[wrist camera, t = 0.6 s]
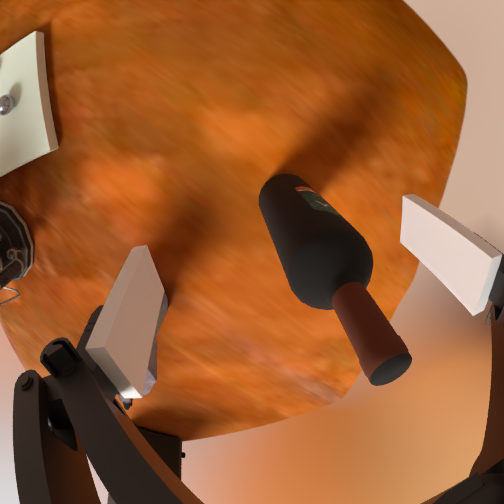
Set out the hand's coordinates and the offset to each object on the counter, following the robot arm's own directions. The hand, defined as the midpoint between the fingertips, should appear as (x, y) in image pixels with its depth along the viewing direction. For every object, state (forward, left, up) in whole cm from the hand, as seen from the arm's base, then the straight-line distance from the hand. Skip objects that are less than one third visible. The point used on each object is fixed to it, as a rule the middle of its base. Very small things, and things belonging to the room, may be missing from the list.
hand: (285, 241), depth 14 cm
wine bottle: (+7, +5, -26) cm, 28 cm away
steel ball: (-18, -32, -22) cm, 43 cm away
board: (-18, -39, -26) cm, 50 cm away
